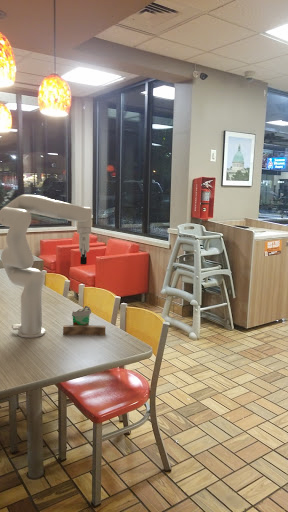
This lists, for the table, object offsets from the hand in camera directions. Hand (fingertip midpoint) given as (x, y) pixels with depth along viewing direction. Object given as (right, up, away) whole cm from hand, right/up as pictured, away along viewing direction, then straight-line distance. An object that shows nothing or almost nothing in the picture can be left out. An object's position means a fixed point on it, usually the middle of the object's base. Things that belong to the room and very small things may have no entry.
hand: (83, 264), depth 211 cm
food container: (+3, -32, -15) cm, 36 cm away
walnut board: (+4, -33, -23) cm, 40 cm away
